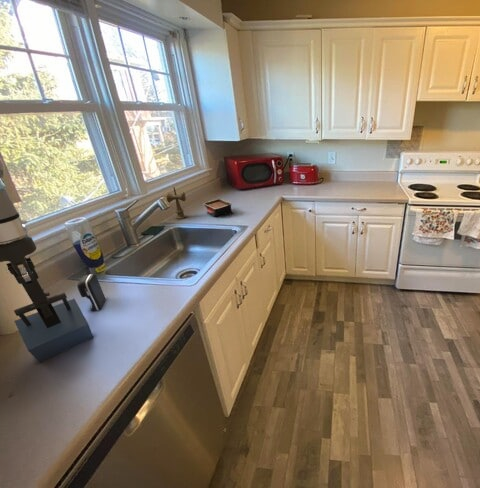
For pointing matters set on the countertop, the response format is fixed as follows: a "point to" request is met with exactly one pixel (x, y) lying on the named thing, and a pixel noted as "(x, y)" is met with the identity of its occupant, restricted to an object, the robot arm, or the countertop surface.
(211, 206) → the square planter pot
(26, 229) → the robot arm
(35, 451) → the countertop surface
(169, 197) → the kendama
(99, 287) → the battery charger
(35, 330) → the handled carry box
